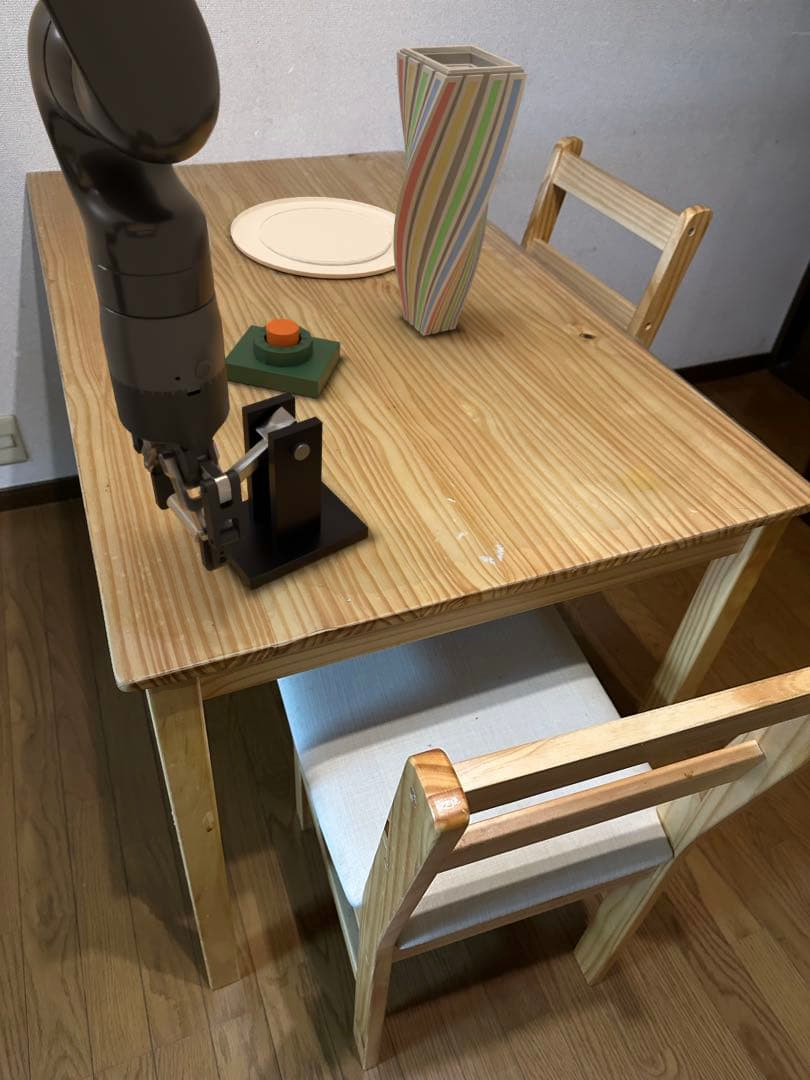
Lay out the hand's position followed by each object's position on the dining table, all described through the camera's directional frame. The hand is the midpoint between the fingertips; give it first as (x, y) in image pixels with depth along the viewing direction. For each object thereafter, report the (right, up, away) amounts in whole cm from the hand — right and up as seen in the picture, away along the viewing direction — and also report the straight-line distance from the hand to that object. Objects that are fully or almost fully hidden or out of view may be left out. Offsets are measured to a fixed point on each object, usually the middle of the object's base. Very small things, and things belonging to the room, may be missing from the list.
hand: (193, 533), depth 62 cm
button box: (+3, +19, +27) cm, 33 cm away
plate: (+5, +45, +54) cm, 70 cm away
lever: (+4, +4, 0) cm, 6 cm away
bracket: (+6, 0, +7) cm, 10 cm away
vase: (+20, +28, +38) cm, 51 cm away
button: (+3, +22, +24) cm, 33 cm away
